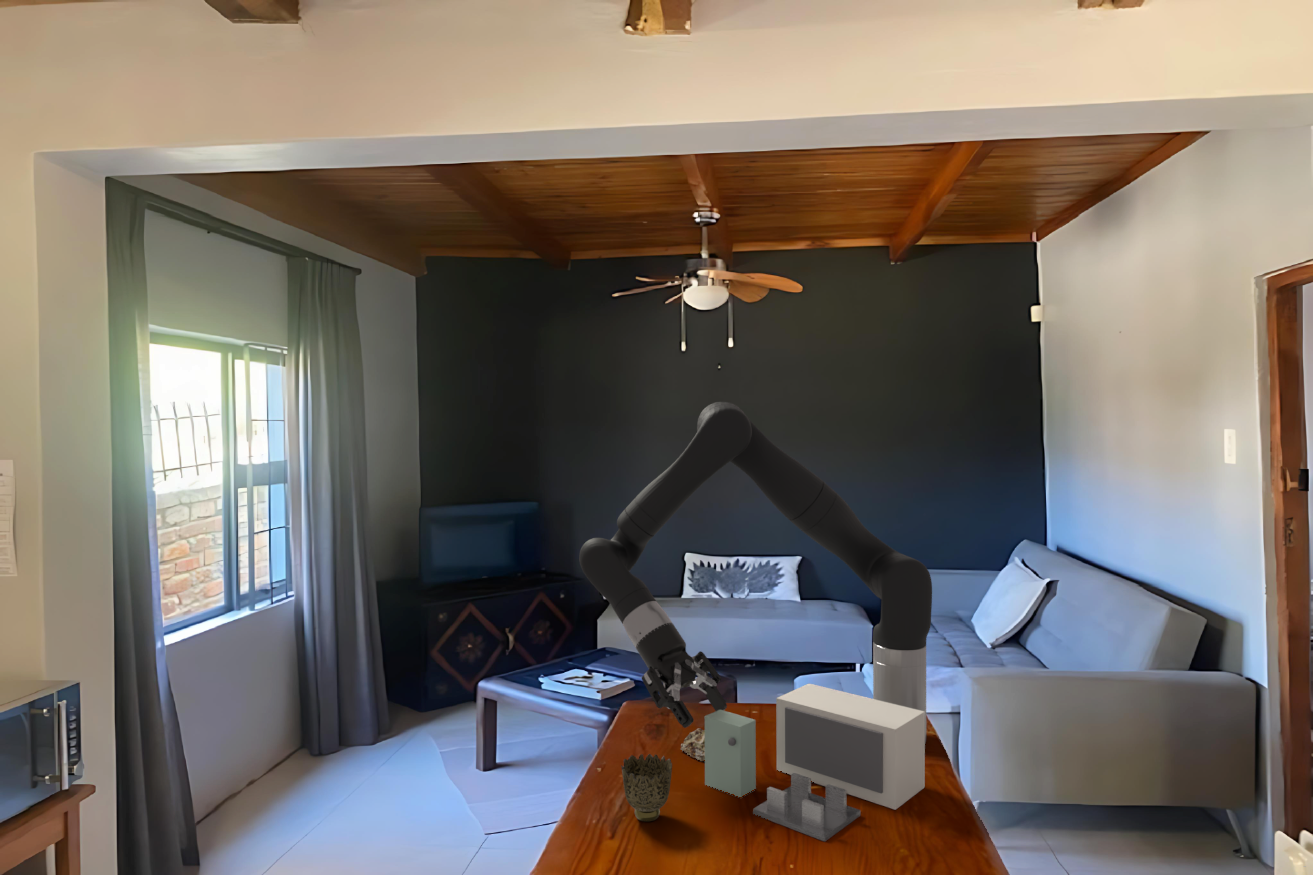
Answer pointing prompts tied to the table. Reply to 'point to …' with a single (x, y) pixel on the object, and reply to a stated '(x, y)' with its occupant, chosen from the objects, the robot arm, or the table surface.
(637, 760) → the cup
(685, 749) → the mineral rock
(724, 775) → the pale green rectangular box
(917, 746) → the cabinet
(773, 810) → the grey holder base
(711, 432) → the robot arm
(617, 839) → the table surface
